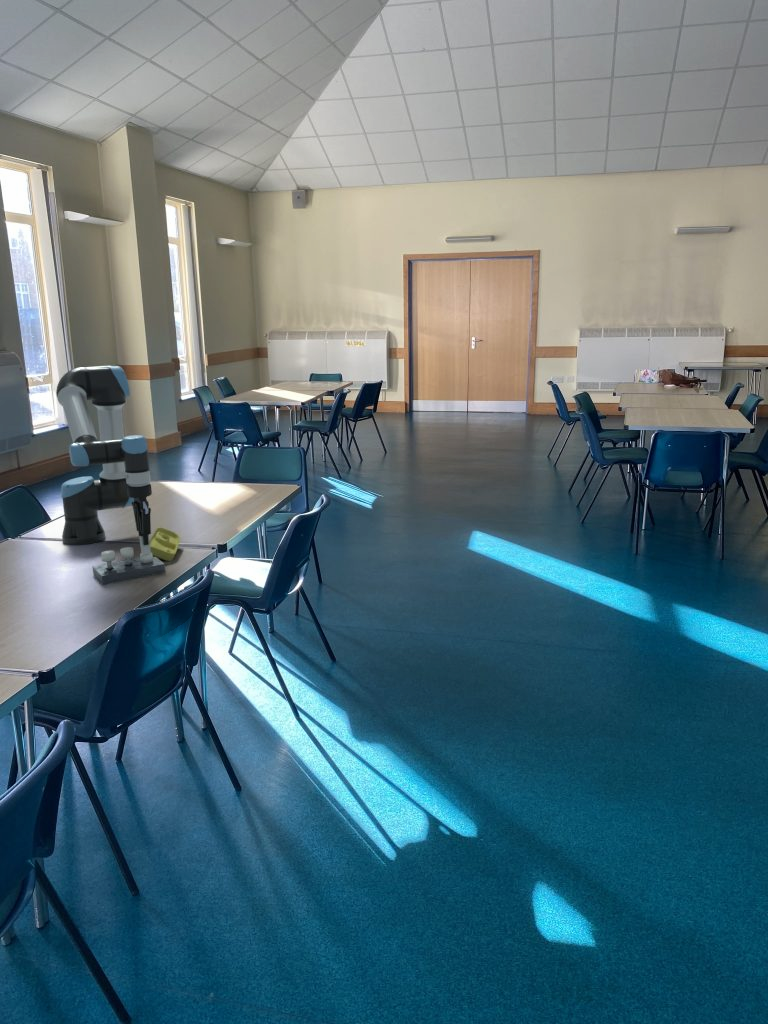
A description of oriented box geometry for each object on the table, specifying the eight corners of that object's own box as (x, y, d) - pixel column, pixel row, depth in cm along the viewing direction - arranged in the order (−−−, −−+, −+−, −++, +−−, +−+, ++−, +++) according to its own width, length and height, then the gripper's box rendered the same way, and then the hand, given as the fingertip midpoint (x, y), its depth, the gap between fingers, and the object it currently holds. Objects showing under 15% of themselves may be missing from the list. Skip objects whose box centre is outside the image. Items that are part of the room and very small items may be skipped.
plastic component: (175, 555, 258) (146, 544, 256) (167, 573, 260) (139, 563, 258) (181, 534, 277) (155, 524, 274) (174, 551, 279) (148, 542, 276)
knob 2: (139, 568, 251) (138, 553, 250) (151, 566, 253) (150, 551, 252) (143, 572, 248) (141, 556, 246) (155, 569, 250) (153, 554, 248)
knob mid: (120, 564, 247) (118, 548, 246) (132, 561, 249) (131, 546, 248) (123, 567, 244) (122, 551, 242) (136, 564, 246) (134, 549, 245)
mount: (93, 574, 247) (92, 566, 246) (154, 563, 257) (153, 554, 257) (102, 585, 237) (101, 576, 236) (165, 572, 248) (164, 563, 247)
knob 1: (101, 567, 244) (99, 552, 242) (114, 565, 246) (112, 549, 245) (104, 570, 241) (103, 555, 239) (117, 568, 243) (115, 552, 241)
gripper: (121, 482, 246) (128, 550, 252) (132, 489, 236) (140, 560, 242) (144, 479, 250) (151, 546, 256) (156, 485, 240) (163, 556, 246)
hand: (146, 553), depth 249 cm, fingers closed
